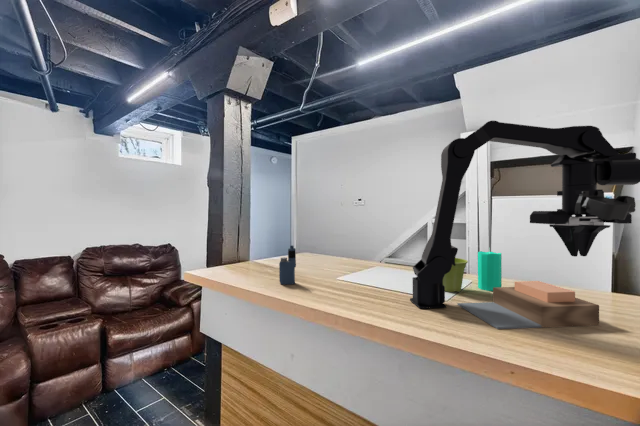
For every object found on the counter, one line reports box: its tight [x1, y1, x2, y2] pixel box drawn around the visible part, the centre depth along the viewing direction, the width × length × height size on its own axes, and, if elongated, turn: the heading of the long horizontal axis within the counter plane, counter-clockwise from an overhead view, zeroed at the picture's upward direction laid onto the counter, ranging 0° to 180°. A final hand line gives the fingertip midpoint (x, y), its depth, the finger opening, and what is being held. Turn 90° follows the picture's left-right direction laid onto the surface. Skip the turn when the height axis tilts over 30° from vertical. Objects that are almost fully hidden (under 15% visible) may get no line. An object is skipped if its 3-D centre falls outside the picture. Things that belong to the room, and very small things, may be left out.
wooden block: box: [492, 286, 600, 328], centre depth 63 cm, size 12×14×4 cm
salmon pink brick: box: [514, 280, 576, 302], centre depth 63 cm, size 6×9×2 cm, turn 4°
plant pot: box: [443, 257, 469, 293], centre depth 82 cm, size 9×9×9 cm
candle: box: [477, 247, 503, 292], centre depth 83 cm, size 6×6×12 cm
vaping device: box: [278, 245, 297, 285], centre depth 90 cm, size 3×5×12 cm, turn 89°
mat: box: [456, 301, 543, 330], centre depth 62 cm, size 9×14×1 cm, turn 4°
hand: (578, 256), depth 63 cm, fingers closed
